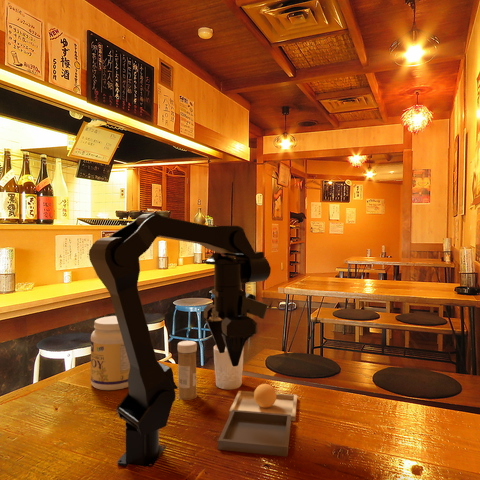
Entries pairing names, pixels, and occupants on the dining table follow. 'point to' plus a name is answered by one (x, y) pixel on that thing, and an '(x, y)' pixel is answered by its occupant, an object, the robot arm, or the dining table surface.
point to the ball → (265, 395)
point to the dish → (256, 433)
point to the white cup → (227, 370)
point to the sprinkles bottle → (187, 370)
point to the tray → (281, 406)
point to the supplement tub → (108, 356)
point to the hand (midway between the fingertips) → (228, 359)
